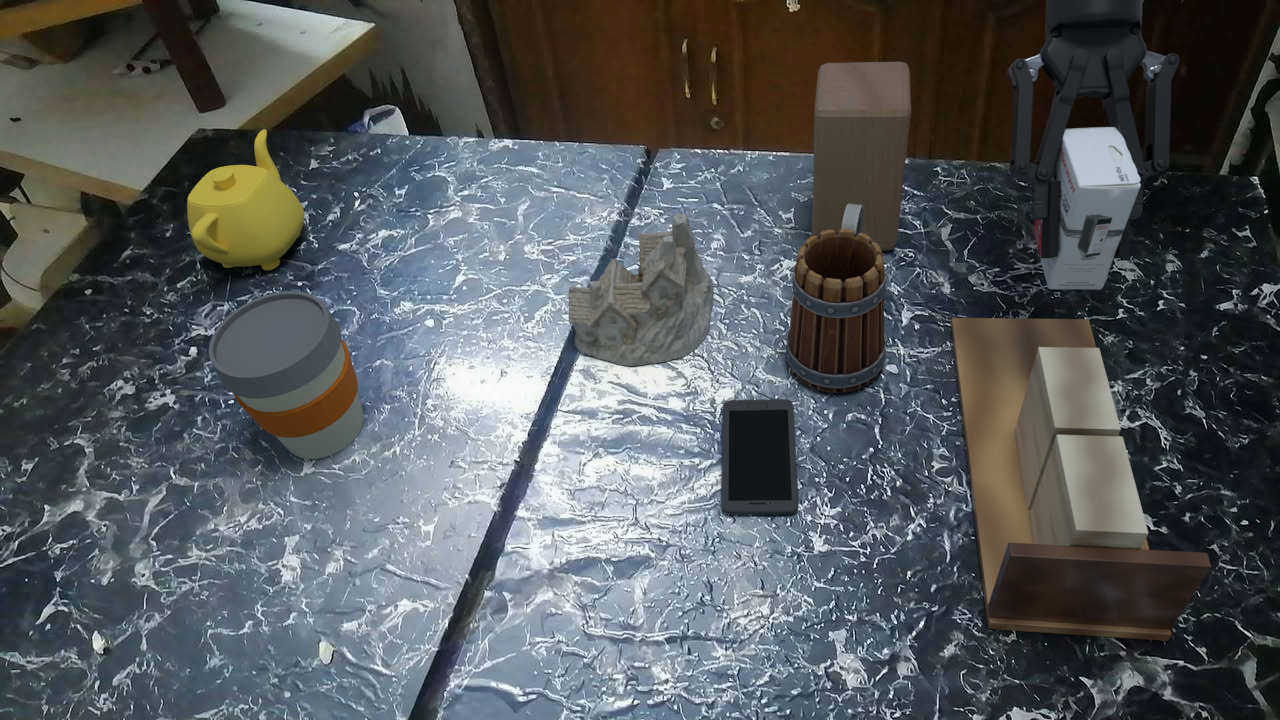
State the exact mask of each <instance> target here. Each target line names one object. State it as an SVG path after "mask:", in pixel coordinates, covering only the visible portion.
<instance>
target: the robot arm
mask: <svg viewBox="0 0 1280 720" xmlns="http://www.w3.org/2000/svg"><path fill="white" fill-rule="evenodd" d="M1044 20H1045V22H1044V23H1045V25H1044V42H1043V45H1042V47H1041V49H1040V50H1039V52H1038V54H1037V55H1036V54H1035V55H1034V56H1030V57H1028V58H1025V59H1024V58H1021V57H1020V58H1016V59H1014V61H1013V62H1012V64H1011V65H1010V66H1009V68H1008V69H1007V71H1006V76H1007V78H1008V82H1009V84H1010V88H1011V90H1012V106H1011V107H1012V110H1011V111H1012V112H1011V129H1010V131H1011V132H1010V152H1009V168H1008V169H1009V174H1010V175H1011V176H1012V177H1013V178H1014V177H1015V178H1021V179H1024V180H1026V181H1027V182H1029V184H1030V210H1029V211H1030V217H1031V219H1032V221H1033V220H1035V221H1036V220H1042V240H1041V258H1053V257H1057V256H1058V231H1059V203H1060V181H1050V176H1051V174H1052V171H1053V167H1054V164H1055V161H1056V158H1057V154H1058V151H1059V148H1060V145H1061V141H1062V138H1063V135H1064V132H1065V129H1067V126H1068V121H1069V118H1070V115H1071V112H1072V109H1073V106H1074V103H1075V102H1076V99H1079V98H1083V97H1086V96H1087V97H1091V98H1095V99H1099V98H1100V101H1101V105H1102V108H1103V109H1104V110H1105V113H1106V118H1107V122H1108V127H1115V128H1117V129H1118V130H1119V132H1120V133H1121V134H1122V136H1123V138H1124V140H1125V143H1126V146H1127V148H1128V150H1129V152H1130V154H1131V158H1132V160H1133V163H1134V164H1135V167H1136V169H1137V172H1138V175H1139V176H1140V179H1141V180H1140V184H1141V187H1140V189H1139V191H1138V194H1137V197H1136V199H1135V202H1134V205H1133V207H1132V210H1131V213H1130V215H1129V218H1128V221H1127V223H1126V226H1125V228H1124V231H1123V234H1122V237H1121V239H1120V242H1119V245H1118V247H1117V250H1116V253H1115V255H1114V258H1113V259H1123V258H1129V257H1130V239H1131V238H1130V236H1131V235H1130V234H1131V220H1137V219H1139V218H1141V215H1142V214H1143V211H1144V210H1143V208H1144V184H1145V181H1146V179H1147V178H1149V177H1152V176H1155V175H1157V174H1160V173H1162V172H1165V171H1166V170H1167V169H1169V167H1170V158H1171V157H1170V155H1171V153H1170V152H1171V116H1172V115H1171V114H1172V84H1173V83H1172V81H1173V79H1174V77H1175V75H1176V72H1177V70H1178V67H1179V65H1180V62H1181V58H1180V55H1179V54H1177V53H1175V52H1170V53H1168V54H1167V55H1165V54H1164V55H1163V54H1160V53H1157V52H1153V51H1151V50H1148V48H1147V45H1146V43H1145V41H1144V39H1143V36H1142V24H1143V23H1142V21H1143V0H1045V19H1044ZM1139 66H1140V67H1142V69H1143V75H1142V76H1143V78H1144V79H1145V81H1148V82H1147V85H1146V90H1145V111H1144V112H1145V113H1144V115H1145V117H1144V151H1143V152H1144V153H1143V152H1142V147H1141V143H1140V139H1139V134H1138V130H1137V127H1136V122H1135V118H1134V114H1133V110H1132V105H1131V102H1130V97H1131V92H1130V88H1129V84H1128V79H1130V77H1131V76H1132V74H1133V73H1134V72H1135V71H1136V70H1137V68H1138V67H1139ZM1040 69H1041V70H1042V71H1043V72H1044V74H1045V75H1046V76H1047V77H1048V80H1049V81H1050V82H1051V83H1052V85H1053V86H1054V87H1055V91H1054V95H1053V97H1052V101H1051V105H1050V106H1051V108H1050V112H1049V114H1048V117H1047V121H1046V124H1045V128H1044V130H1043V134H1042V137H1041V141H1040V144H1039V146H1038V150H1037V154H1036V157H1035V159H1034V160H1035V161H1034V163H1033V162H1031V152H1032V151H1031V149H1032V129H1033V110H1034V109H1033V108H1034V83H1035V82H1036V81H1037V79H1038V78H1039V70H1040ZM1143 156H1144V157H1143Z"/></svg>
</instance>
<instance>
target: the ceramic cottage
mask: <svg viewBox="0 0 1280 720" xmlns="http://www.w3.org/2000/svg"><path fill="white" fill-rule="evenodd" d="M671 224H672V225H671V230H670V231H659V232H639V233H638V234H637V239H638V244H639V245H638V249H639V259H638V262H639V266H638V269H637V272H638V273H636V274H634V273H632V272H631V271H630V270H628V268H626V267H625V266H624V265H623V264H621V263H620V262H619V261H618V259H617V258H611V259H610V262H608V264H607V266H606V267H605V268H604V272H603V273H602V274H601V275H600V276H599V279H597V280H591V281H589V285H588V286H587V287H584V286H575V285H571V286H570V287H569V288H568V294H567V297H568V323H569V325H572V326H573V328H574V331H575V335H574V339H573V340H574V341H573V342H574V347H575V348H576V350H577V352H579V353H581V354H583V355H587V356H588V357H591V356H592V357H593V358H596V359H597V360H604V361H607V362H611V363H612V364H616V365H617V366H618V365H619V366H621V365H623V366H629V367H632V366H633V367H634V366H645V365H649V364H654V365H656V364H658V363H659V364H660V363H665V362H670V360H671V361H673V360H676V359H680V358H685V357H686V356H687V355H689V354H691V353H692V352H693V351H695V349H697V348H698V347H699V346H700V345H701V343H702V342H703V341H704V340H706V338H707V337H708V334H709V332H710V329H711V328H710V327H711V326H710V325H711V316H712V315H711V314H712V311H713V305H714V304H713V302H714V294H715V293H714V288H715V287H714V284H713V281H712V278H711V275H710V273H709V272H708V271H707V269H706V268H704V263H703V259H702V258H701V256H700V255H699V253H698V252H697V249H696V243H695V242H696V241H695V234H694V232H693V231H692V229H691V225H690V222H689V218H688V215H686V214H684V213H679V214H675V215H674V216H673V217H672V223H671Z"/></svg>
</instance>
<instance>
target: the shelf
mask: <svg viewBox="0 0 1280 720" xmlns="http://www.w3.org/2000/svg"><path fill="white" fill-rule="evenodd" d="M950 333H951V339H952V349H953V357H954V364H955V373H956V380H957V381H956V382H957V388H958V399H959V405H960V413H961V414H960V415H961V422H962V430H963V438H964V445H965V454H966V462H967V469H968V478H969V479H968V480H969V486H970V493H971V504H972V511H973V520H974V527H975V534H976V543H977V552H978V559H979V568H980V576H981V583H982V585H981V586H982V592H983V601H984V608H985V609H984V610H985V616H986V624H987V626H986V627H987V629H988V630H1000V631H1013V632H1014V631H1015V632H1027V633H1028V632H1029V633H1045V634H1058V635H1059V634H1060V635H1073V636H1074V635H1075V636H1086V637H1087V636H1089V637H1103V638H1116V639H1117V638H1118V639H1131V640H1134V639H1135V640H1148V641H1163V642H1168V641H1169V640H1170V638H1171V636H1172V633H1173V632H1172V628H1173V627H1174V626H1175V624H1176V622H1177V621H1178V619H1179V618H1180V616H1181V615H1182V613H1183V612H1184V610H1185V608H1186V607H1187V605H1188V604H1189V602H1190V600H1191V599H1192V597H1193V596H1194V594H1195V593H1196V592H1197V590H1198V588H1199V587H1200V585H1201V584H1202V583H1203V580H1204V579H1205V577H1206V576H1207V575H1208V573H1209V571H1210V569H1211V568H1212V564H1211V561H1210V557H1209V554H1208V553H1207V552H1200V551H1181V550H1180V551H1179V550H1178V551H1177V550H1160V549H1159V550H1158V549H1150V547H1149V543H1148V539H1147V537H1148V536H1149V530H1148V527H1147V522H1146V519H1145V515H1144V511H1143V507H1142V504H1141V500H1140V496H1139V492H1138V489H1137V485H1136V482H1135V481H1136V480H1135V477H1134V473H1133V470H1132V466H1131V461H1130V459H1129V455H1128V451H1127V448H1126V443H1125V440H1124V436H1120V433H1121V430H1122V428H1121V424H1120V420H1119V417H1118V413H1117V410H1116V405H1115V402H1114V398H1113V394H1112V390H1111V388H1110V387H1111V386H1110V383H1109V378H1108V376H1107V375H1108V374H1107V372H1106V368H1105V365H1104V361H1103V357H1102V353H1101V349H1100V347H1097V345H1096V343H1095V342H1096V341H1095V337H1094V333H1093V329H1092V326H1091V322H1090V319H1089V318H1016V317H1015V318H1006V317H1005V318H1004V317H1001V318H999V317H997V318H996V317H952V318H951V321H950Z"/></svg>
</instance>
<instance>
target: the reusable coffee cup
mask: <svg viewBox="0 0 1280 720" xmlns="http://www.w3.org/2000/svg"><path fill="white" fill-rule="evenodd" d="M208 355H209V360H210V363H211V365H212V366H213V368H214V371H215V372H216V375H217V377H218V379H219V380H220V382H221V384H222V386H223V387H224V388H225V389H226V390H227V391H228V392H230V393H231V394H233V395H234V397H235V398H234V399H236V402H238V404H239V405H240V406H241V408H242V409H243V410H244V411H245V412H246V413H247V414H248V415H249V416H250V417H251V418H252V419H253V420H254V421H255V423H257V424H258V425H259V426H260V428H262V429H263V431H265V433H268V434H270V435H273V436H274V437H276V438H277V439H278V441H279V442H280V443H281V444H282V445H283V446H284V448H286V449H287V450H288V451H289V452H290V453H291V454H292V455H294V456H296V457H298V458H300V459H303V460H304V459H305V460H318V459H319V460H320V459H324V458H326V457H330V456H333V455H336V454H338V453H339V452H340V451H342V450H345V448H347V447H348V446H350V445H351V444H352V443H353V442H354V440H356V439H357V437H358V436H359V434H360V432H362V429H363V427H364V422H365V413H364V410H363V409H364V408H363V407H362V404H361V400H360V396H359V393H358V389H359V384H358V383H359V382H358V381H359V380H358V377H357V374H356V371H355V368H354V365H353V361H352V358H351V355H350V352H349V349H348V347H347V344H346V343H345V342H344V340H343V339H342V330H341V327H340V325H339V323H338V321H337V320H336V318H335V317H334V315H333V314H332V312H330V309H329V308H328V307H327V305H326V304H325V303H324V302H323V300H322V299H320V298H319V297H317V296H316V295H313V294H312V293H309V292H304V291H298V290H285V291H278V292H273V293H269V294H265V295H262V296H260V297H258V298H254V299H252V300H250V301H249V302H247V303H244V304H243V305H241V306H240V307H238V308H236V309H235V310H233V311H232V312H231V313H230V314H229V315H228V316H227V317H225V318H224V319H223V320H222V322H221V323H220V324H219V325H218V326H217V327H216V329H215V330H214V332H213V334H212V336H211V338H210V342H209V345H208Z"/></svg>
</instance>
